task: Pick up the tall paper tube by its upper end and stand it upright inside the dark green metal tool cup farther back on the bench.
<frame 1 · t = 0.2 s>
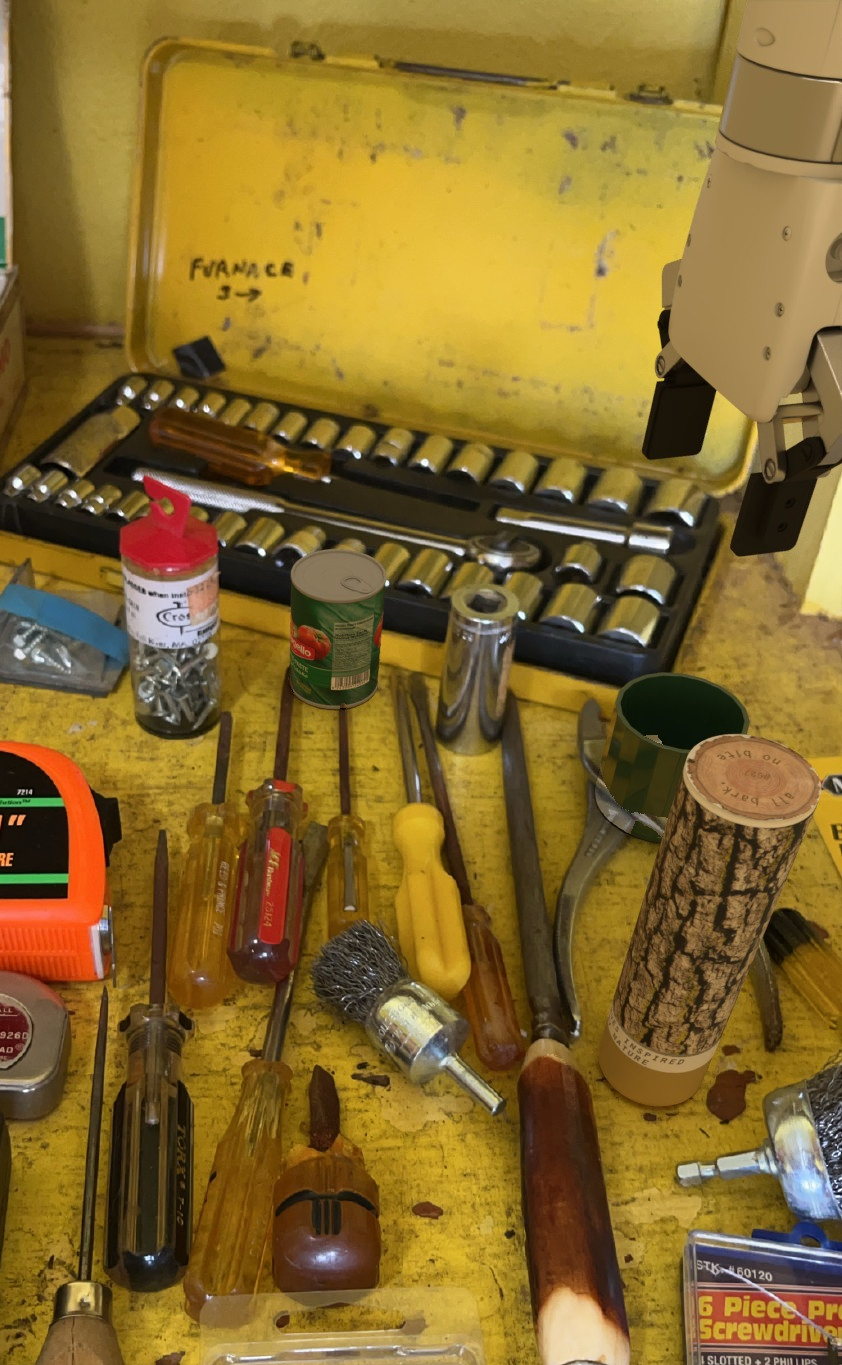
hand: (713, 500, 63), 35 cm above the workbench, tool pointing down, fingers open, 9 cm apart
canned tomato: (333, 684, 111), on the workbench
paper tube: (647, 1070, 82), on the workbench
tool cup: (656, 801, 100), on the workbench
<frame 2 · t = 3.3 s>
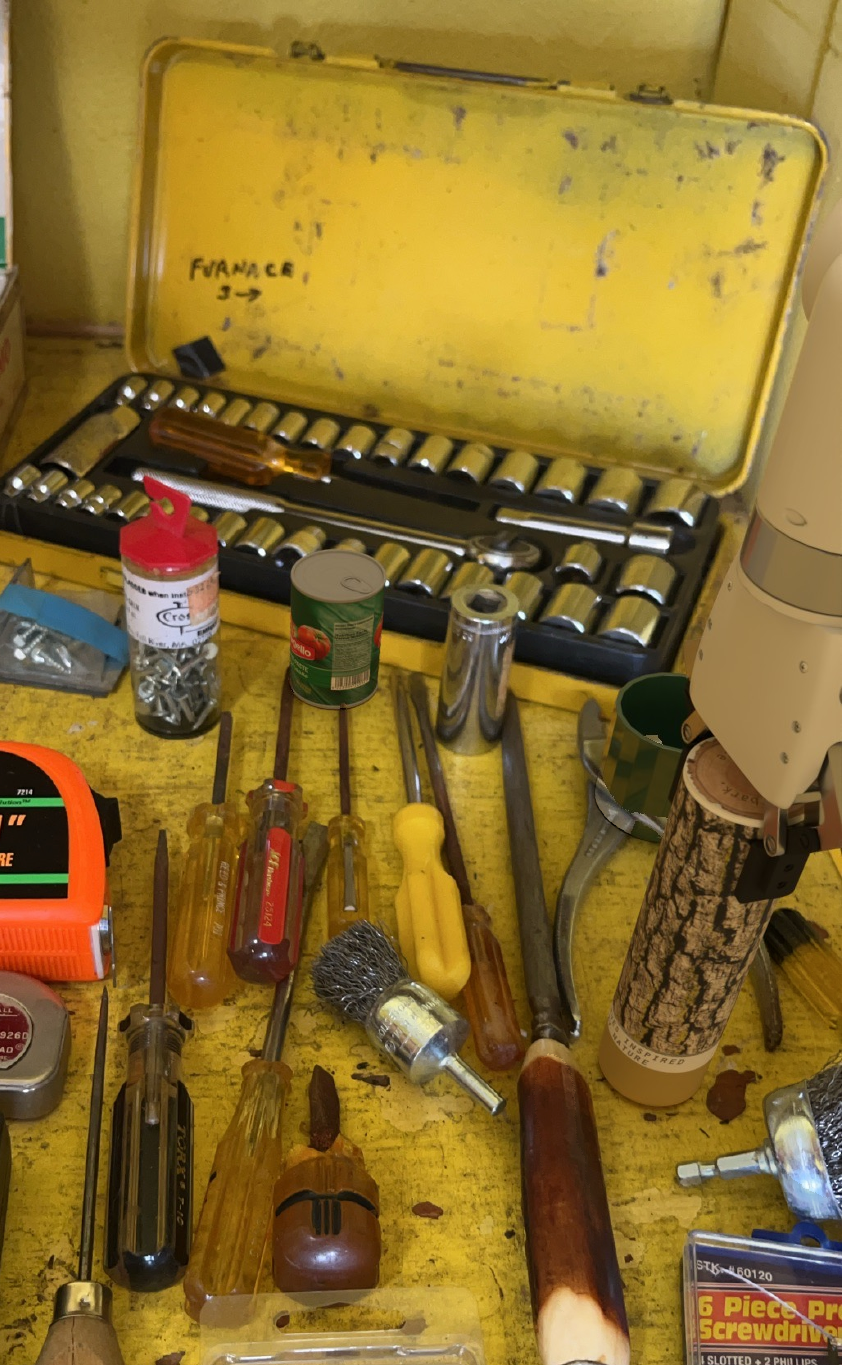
hand: (728, 844, 67), 20 cm above the workbench, tool pointing down, fingers closed on paper tube, 6 cm apart
paper tube: (647, 1070, 82), on the workbench, touching gripper
everything else where it was.
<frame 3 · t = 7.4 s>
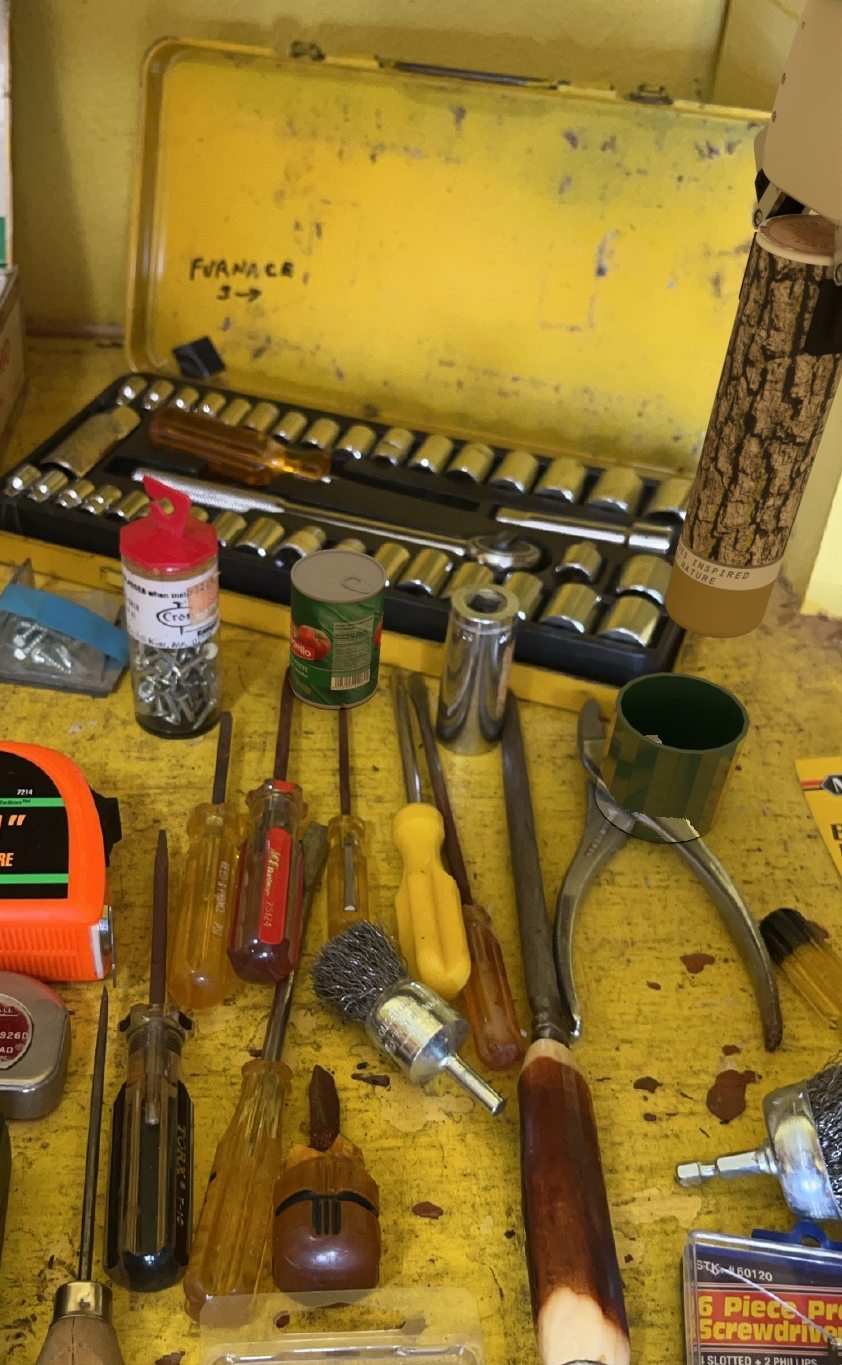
hand: (795, 323, 74), 38 cm above the workbench, tool pointing down, fingers closed on paper tube, 6 cm apart
paper tube: (710, 617, 88), point 17 cm above the workbench, touching gripper
everything else where it was.
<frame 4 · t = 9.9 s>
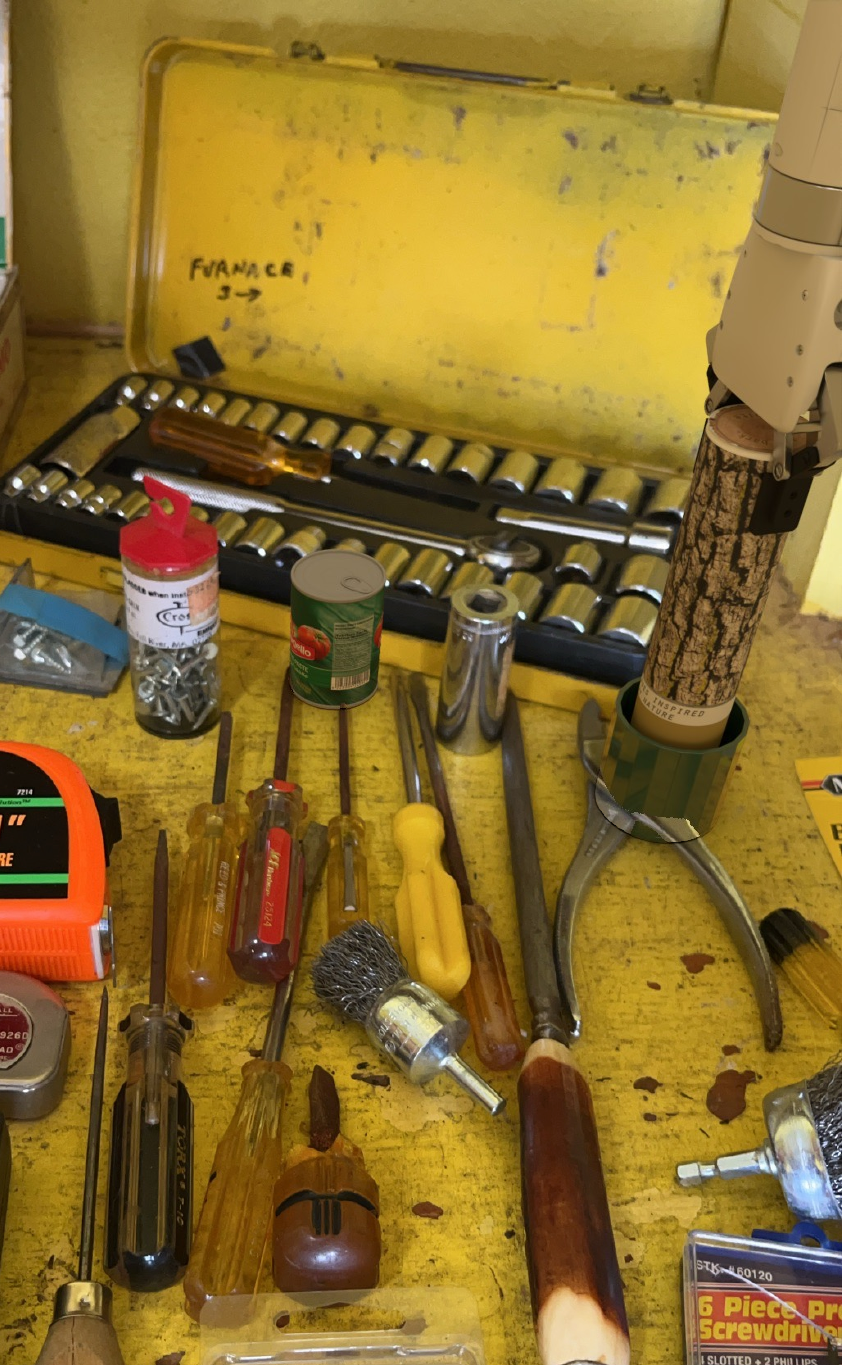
hand: (742, 500, 82), 26 cm above the workbench, tool pointing down, fingers closed on paper tube, 6 cm apart
paper tube: (671, 743, 96), point 6 cm above the workbench, touching gripper
everything else where it was.
when the fingers open (21 cm above the workbench, at t = 11.9 s): paper tube stays where it is, resting on tool cup.
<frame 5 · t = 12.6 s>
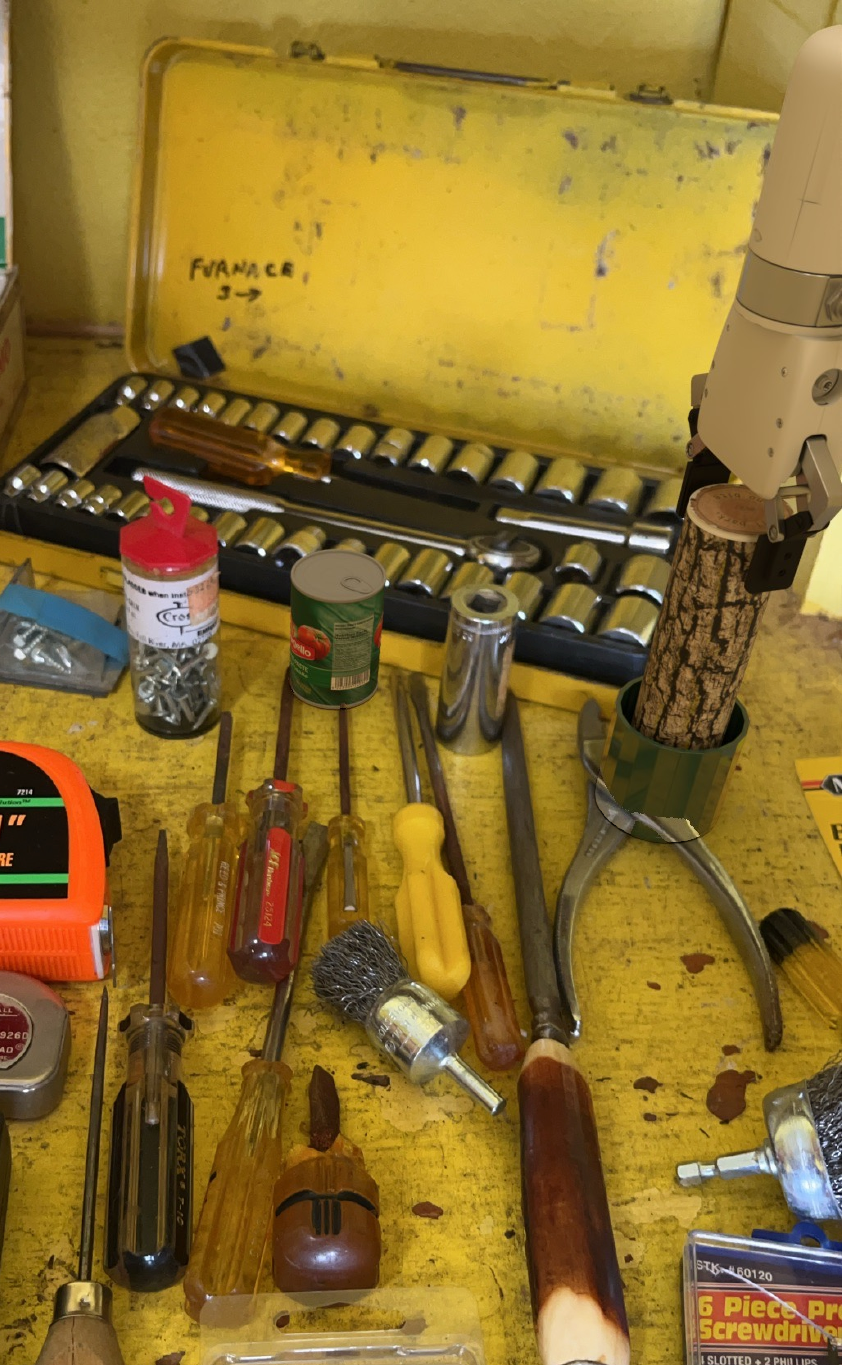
hand: (730, 550, 84), 23 cm above the workbench, tool pointing down, fingers open, 9 cm apart
paper tube: (657, 797, 100), resting on tool cup
everything else where it was.
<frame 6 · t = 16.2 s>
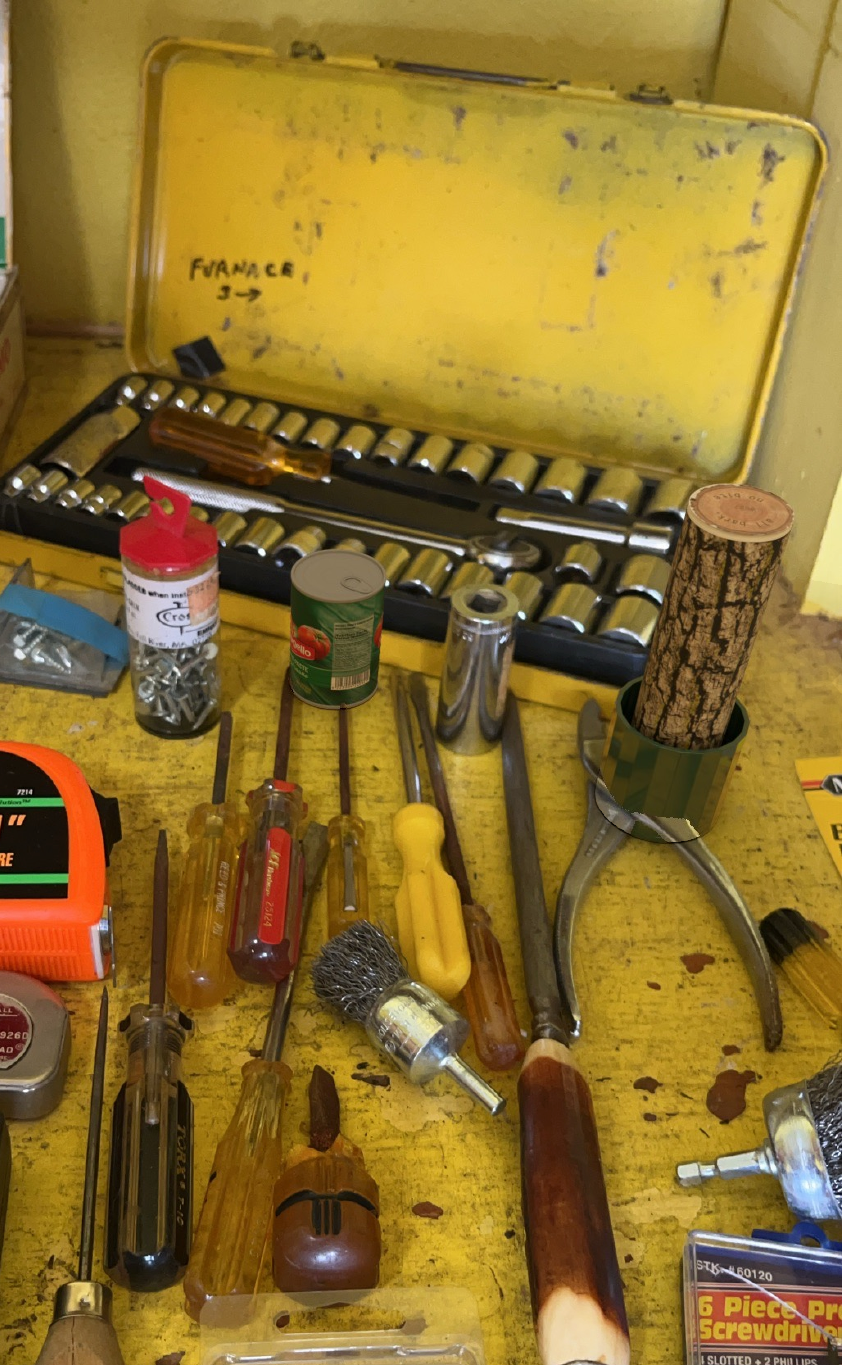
nothing on the workbench moved.
at the end: paper tube 0.0 cm off-centre in the tool cup, point 0.4 cm above the tool cup's base; paper tube tilted 0° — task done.
